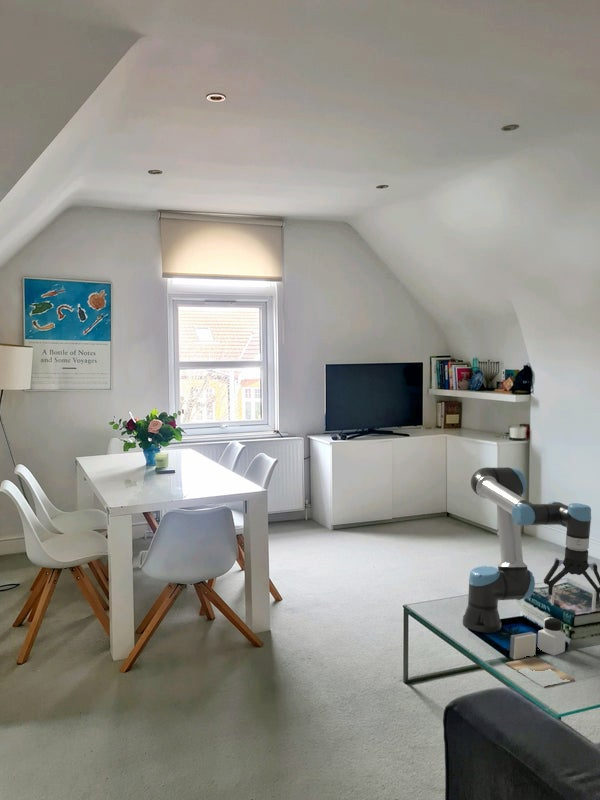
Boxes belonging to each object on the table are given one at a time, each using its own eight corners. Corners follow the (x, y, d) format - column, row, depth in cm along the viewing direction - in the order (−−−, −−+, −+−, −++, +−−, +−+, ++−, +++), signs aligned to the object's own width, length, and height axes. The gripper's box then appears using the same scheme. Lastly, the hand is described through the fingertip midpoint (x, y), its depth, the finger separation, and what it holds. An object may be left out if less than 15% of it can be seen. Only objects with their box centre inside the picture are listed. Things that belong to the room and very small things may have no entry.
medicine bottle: (564, 652, 242) (566, 620, 241) (553, 656, 238) (555, 624, 237) (548, 645, 248) (549, 614, 247) (536, 649, 244) (538, 617, 243)
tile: (509, 656, 236) (510, 635, 235) (530, 652, 240) (531, 631, 240) (514, 659, 234) (515, 638, 233) (535, 655, 238) (536, 634, 237)
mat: (505, 664, 229) (505, 662, 229) (534, 658, 235) (534, 656, 235) (543, 687, 213) (543, 686, 213) (574, 680, 219) (574, 679, 219)
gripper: (540, 546, 228) (536, 605, 230) (617, 555, 221) (612, 615, 223) (538, 541, 236) (534, 598, 237) (613, 549, 229) (609, 608, 230)
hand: (572, 606), depth 230 cm, fingers open, 13 cm apart
